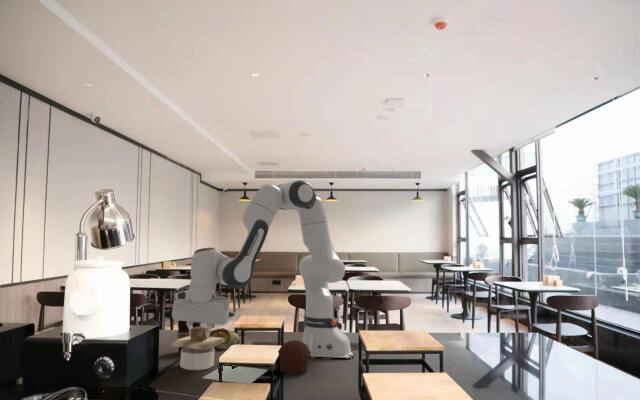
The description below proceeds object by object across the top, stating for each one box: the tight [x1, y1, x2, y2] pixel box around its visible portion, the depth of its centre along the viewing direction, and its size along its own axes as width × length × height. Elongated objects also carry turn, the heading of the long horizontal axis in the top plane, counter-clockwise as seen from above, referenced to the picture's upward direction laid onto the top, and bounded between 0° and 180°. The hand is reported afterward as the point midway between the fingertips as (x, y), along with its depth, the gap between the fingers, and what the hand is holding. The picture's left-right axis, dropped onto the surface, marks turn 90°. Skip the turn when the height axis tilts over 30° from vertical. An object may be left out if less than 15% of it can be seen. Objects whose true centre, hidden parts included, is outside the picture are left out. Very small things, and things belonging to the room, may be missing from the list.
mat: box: [202, 365, 269, 384], centre depth 138 cm, size 16×16×1 cm
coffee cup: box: [177, 320, 201, 355], centre depth 164 cm, size 9×8×13 cm
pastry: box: [209, 327, 242, 351], centre depth 176 cm, size 14×12×8 cm
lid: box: [170, 326, 225, 350], centre depth 146 cm, size 13×13×5 cm
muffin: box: [277, 339, 311, 375], centre depth 146 cm, size 12×11×10 cm
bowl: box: [179, 347, 216, 371], centre depth 146 cm, size 11×11×6 cm
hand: (199, 335), depth 146 cm, fingers closed on lid, 4 cm apart
